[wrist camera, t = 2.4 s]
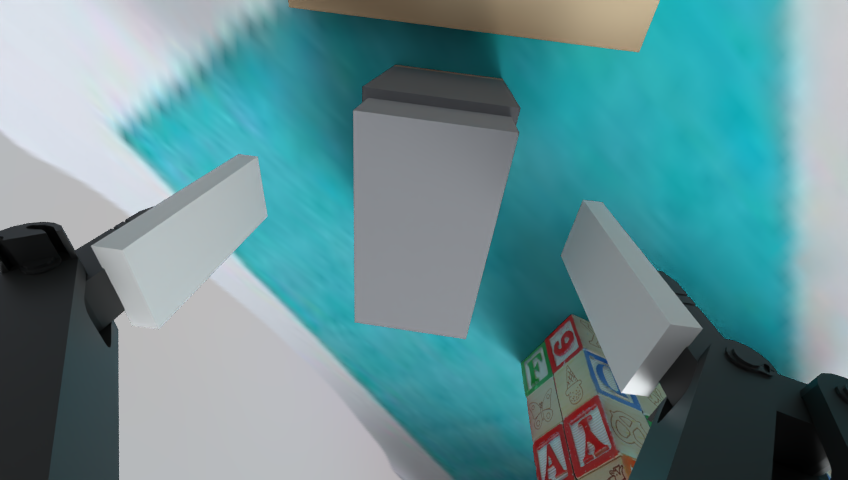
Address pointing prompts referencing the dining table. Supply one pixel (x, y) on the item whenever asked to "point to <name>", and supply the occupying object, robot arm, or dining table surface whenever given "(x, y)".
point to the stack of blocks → (582, 409)
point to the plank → (514, 17)
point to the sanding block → (427, 194)
